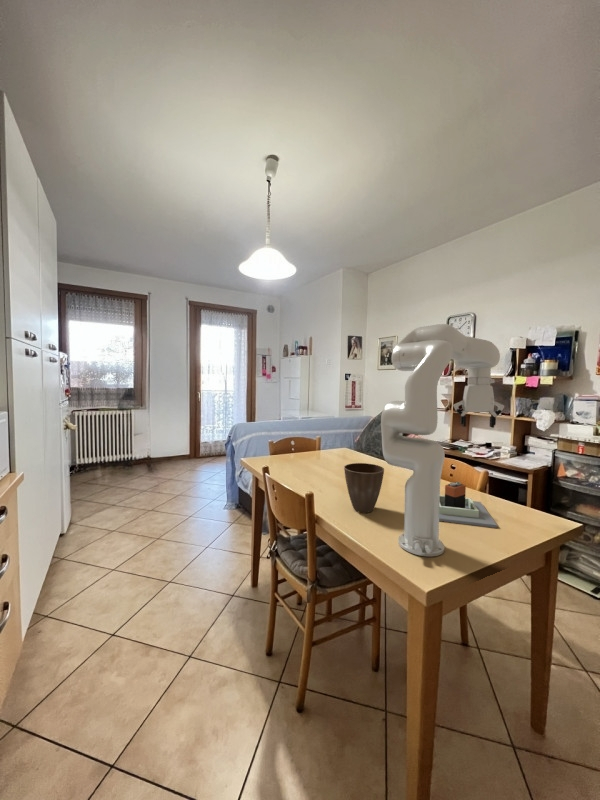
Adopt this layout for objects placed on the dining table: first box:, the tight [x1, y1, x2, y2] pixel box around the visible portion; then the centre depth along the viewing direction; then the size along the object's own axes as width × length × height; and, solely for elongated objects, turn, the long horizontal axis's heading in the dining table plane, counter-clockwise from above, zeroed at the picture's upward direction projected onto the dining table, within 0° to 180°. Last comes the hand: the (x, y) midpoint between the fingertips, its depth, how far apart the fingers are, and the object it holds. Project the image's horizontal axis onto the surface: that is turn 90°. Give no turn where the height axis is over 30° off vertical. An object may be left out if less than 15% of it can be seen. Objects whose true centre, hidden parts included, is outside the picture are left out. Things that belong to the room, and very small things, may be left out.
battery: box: [444, 481, 467, 508], centre depth 118 cm, size 4×7×10 cm, turn 121°
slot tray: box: [439, 494, 498, 529], centre depth 118 cm, size 22×22×4 cm
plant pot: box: [343, 462, 385, 514], centre depth 120 cm, size 15×15×16 cm
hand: (477, 426), depth 121 cm, fingers open, 9 cm apart
